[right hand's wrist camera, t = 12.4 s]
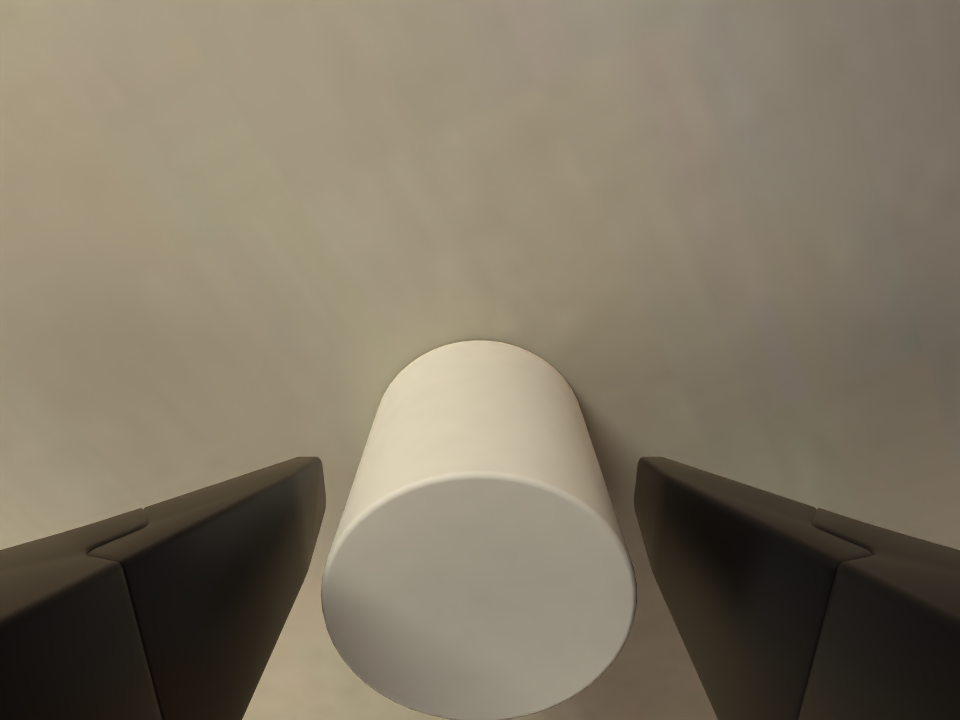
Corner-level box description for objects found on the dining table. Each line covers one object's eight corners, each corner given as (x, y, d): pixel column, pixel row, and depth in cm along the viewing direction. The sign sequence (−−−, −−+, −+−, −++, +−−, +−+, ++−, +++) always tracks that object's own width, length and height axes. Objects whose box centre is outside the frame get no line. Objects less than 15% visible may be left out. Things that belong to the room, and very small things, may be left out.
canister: (359, 502, 14) (301, 697, 9) (394, 317, 12) (344, 442, 8) (552, 539, 14) (587, 744, 9) (610, 364, 12) (683, 509, 8)
